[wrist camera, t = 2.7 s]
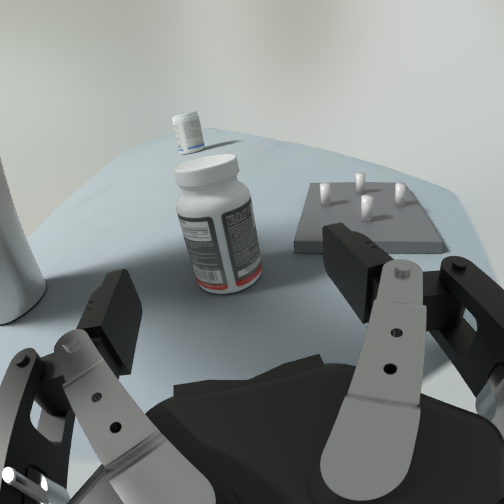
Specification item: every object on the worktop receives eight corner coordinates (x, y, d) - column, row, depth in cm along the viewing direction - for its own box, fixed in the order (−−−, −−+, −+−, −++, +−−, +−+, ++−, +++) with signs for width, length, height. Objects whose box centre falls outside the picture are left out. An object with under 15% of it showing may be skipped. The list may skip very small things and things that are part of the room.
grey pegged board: (294, 252, 27) (291, 215, 25) (311, 191, 42) (309, 166, 40) (441, 253, 23) (446, 216, 21) (404, 190, 38) (404, 166, 36)
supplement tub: (208, 147, 104) (201, 110, 97) (200, 152, 96) (192, 112, 89) (185, 151, 106) (178, 115, 99) (175, 156, 98) (167, 117, 91)
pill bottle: (253, 253, 28) (235, 149, 23) (272, 284, 23) (254, 158, 18) (194, 268, 27) (167, 164, 22) (201, 304, 22) (166, 178, 17)
